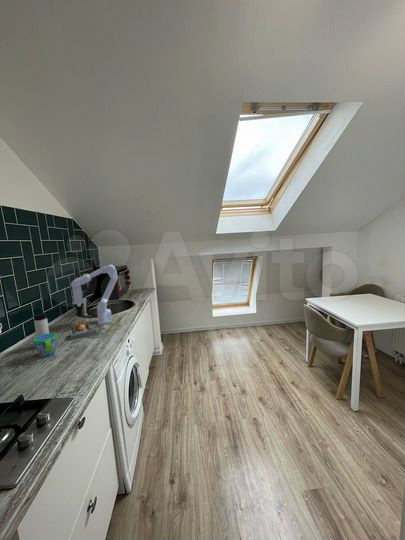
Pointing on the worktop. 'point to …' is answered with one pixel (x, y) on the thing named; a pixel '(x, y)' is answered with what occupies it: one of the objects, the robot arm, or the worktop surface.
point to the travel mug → (41, 324)
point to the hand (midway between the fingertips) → (79, 313)
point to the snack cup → (45, 344)
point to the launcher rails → (75, 329)
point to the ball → (82, 327)
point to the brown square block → (81, 324)
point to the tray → (83, 334)
